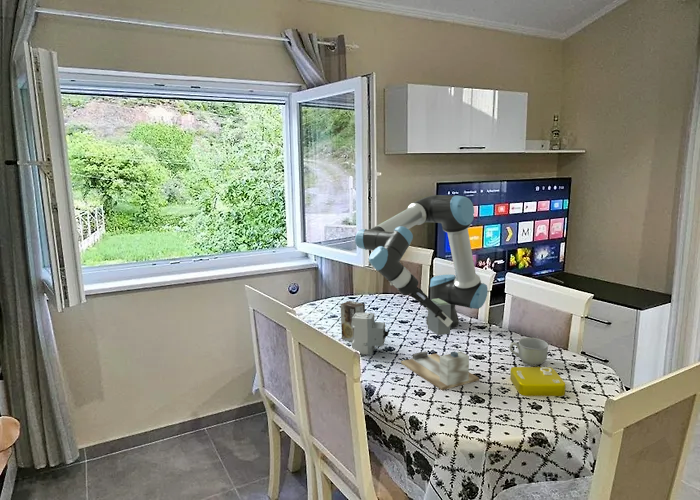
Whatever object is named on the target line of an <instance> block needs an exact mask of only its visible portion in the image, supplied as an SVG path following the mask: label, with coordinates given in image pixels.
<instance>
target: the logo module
mask: <svg viewBox="0 0 700 500" xmlns="http://www.w3.org/2000/svg"><path fill="white" fill-rule="evenodd" d="M431 301H432V302H433V303H434V304H436V305H437V306H438V307H439V308H440V309H441V310H442V311H443V312H444V313H445V314H446V315H447V316H448V317H449V318H450V319H451V304H449V303H447V302H445V301H443V300H441V299H439V298H437V299H431ZM427 316H428V325H427V329H428V330H429V331H430V332H432V333H434V334H436V335H437V336H442V335H443V336H444V335H450V334H451V328H450V325H449V327H447V326H446V325H445V324H444V323H443V322H442V321H441V320H440V319H439V318H438V317H434V316H435V314H434V313H433V312H432V311H431V310H430V309H429V308H428V310H427Z"/></svg>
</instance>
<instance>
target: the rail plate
mask: <svg viewBox="0 0 700 500" xmlns="http://www.w3.org/2000/svg"><path fill="white" fill-rule="evenodd" d="M400 363H401V365H403V366H404V367H406V368H407V369H409V370H410V371H412V372H413V373H414V374H416V375H418V376H419V377H421V378H423V379H424V381H427V382H428V383H430V384H432V385H433V386H435V387H436V388H437V389H439V390H441V391H444V390H448V389H452V388H455V387H459V386H463V385H467V384H470V383H475V382H479V381H480V377H478V376H477V375H475V374H473V373H471V372H470V367H469V366H470V355H469V354H467V353H464V352H463V351H451V352H450V353H448V354H444V355H439V354H437V353H432V354H429V353H428V351H426V350H425V351H420V352H416V353H415V352H414V353H412V358H409V359H405V360H401V361H400Z"/></svg>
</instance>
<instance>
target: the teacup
mask: <svg viewBox="0 0 700 500" xmlns="http://www.w3.org/2000/svg"><path fill="white" fill-rule="evenodd" d="M514 346H515V347H516V349H517V350H518V351H517V352H516V351H515V350H514V349H513V347H514ZM508 348H509V351H510V352H511V353H512V354H513V355H515V356H516V357H517V358H519V360H521V361H522V362H523V363H524V364H526V365H528V366H540V365H541V364H543V363H545V362H546V361H547V358H548V349H549V343H548V342H547V341H546V340H543V339H542V338H538V337H522V338H520V339H519V340H518V342H511V343H510V344H509V347H508Z"/></svg>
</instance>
